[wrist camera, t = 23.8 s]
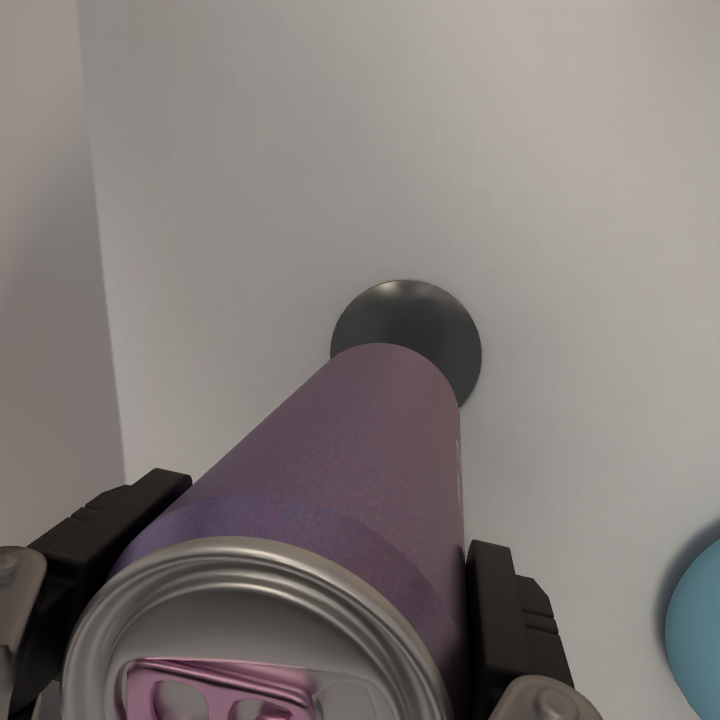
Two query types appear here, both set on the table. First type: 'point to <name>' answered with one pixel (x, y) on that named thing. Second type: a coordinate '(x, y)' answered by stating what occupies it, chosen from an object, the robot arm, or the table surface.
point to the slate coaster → (415, 329)
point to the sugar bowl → (697, 633)
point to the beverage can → (298, 568)
